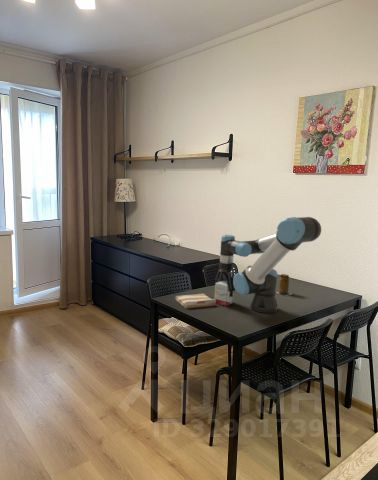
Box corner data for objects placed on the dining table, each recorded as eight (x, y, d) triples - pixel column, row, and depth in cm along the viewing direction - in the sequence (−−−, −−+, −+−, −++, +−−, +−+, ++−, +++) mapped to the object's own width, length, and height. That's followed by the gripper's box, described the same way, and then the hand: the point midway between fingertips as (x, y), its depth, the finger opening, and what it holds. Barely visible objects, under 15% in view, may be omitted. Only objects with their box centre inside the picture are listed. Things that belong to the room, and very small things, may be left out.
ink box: (226, 306, 208) (227, 285, 206) (213, 302, 213) (214, 282, 211) (234, 302, 214) (235, 282, 213) (221, 299, 219) (222, 280, 218)
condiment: (282, 291, 243) (283, 273, 241) (293, 294, 236) (294, 276, 235) (275, 292, 238) (276, 274, 236) (286, 296, 232) (287, 277, 230)
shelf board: (215, 305, 208) (215, 299, 207) (186, 308, 201) (186, 302, 200) (203, 296, 223) (203, 291, 222) (175, 299, 216) (175, 293, 215)
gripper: (243, 266, 200) (240, 304, 203) (221, 257, 223) (219, 291, 226) (231, 267, 197) (228, 305, 201) (210, 257, 220) (208, 291, 223)
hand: (223, 298), depth 213 cm, fingers open, 13 cm apart
